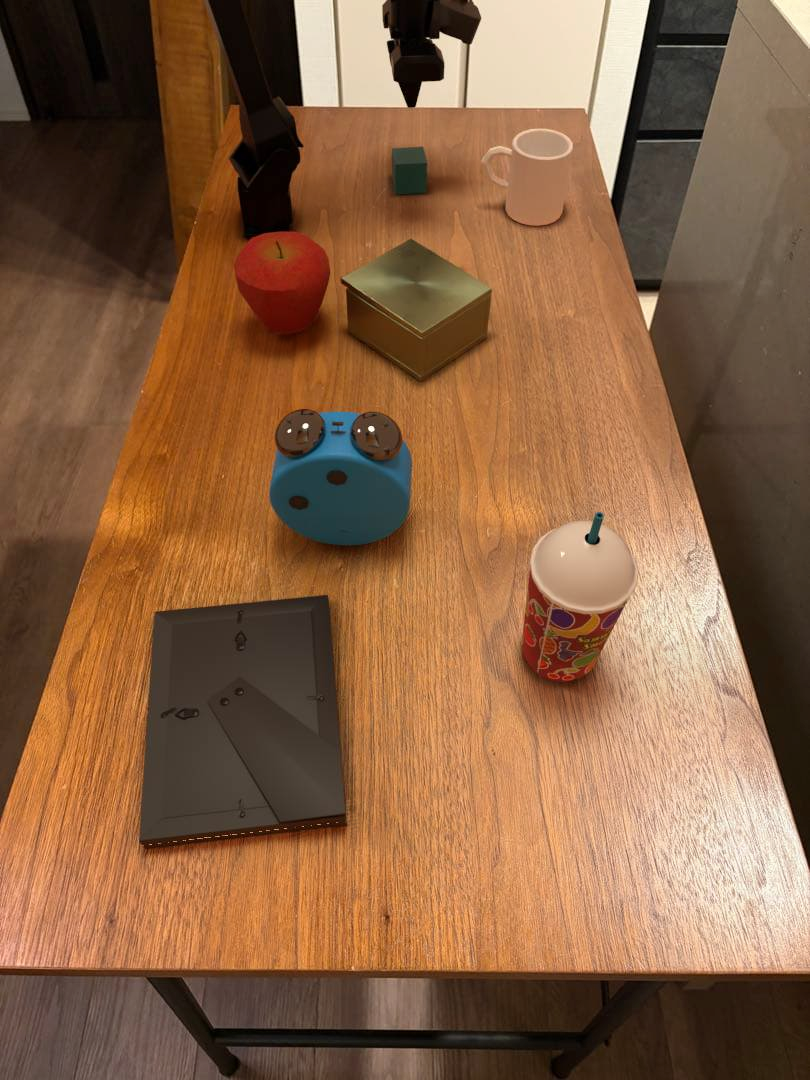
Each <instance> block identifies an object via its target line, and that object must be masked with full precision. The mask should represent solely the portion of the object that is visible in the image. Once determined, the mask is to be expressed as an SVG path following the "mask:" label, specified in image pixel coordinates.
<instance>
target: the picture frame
mask: <svg viewBox="0 0 810 1080" xmlns="http://www.w3.org/2000/svg"><path fill="white" fill-rule="evenodd" d="M333 646H334V645H333V633H332V621H331V610H330V599H329V595H328V594H323V595H312V596H303V597H292V598H291V597H290V598H281V599H271V600H259V601H250V602H249V601H248V602H239V603H229V604H220V605H208V606H198V607H187V608H178V609H177V608H176V609H168V610H167V609H166V610H158V611H154V615H153V631H152V646H151V660H150V674H149V689H148V701H147V702H148V703H147V718H146V732H145V746H144V747H145V748H144V761H143V776H142V790H141V791H142V792H141V805H140V822H139V834H138V835H139V836H138V842H139V843H140V844H141V846H142V845H144V846H142V847H143V849H144V850H152V849H160V848H169V847H170V848H171V847H178V846H187V845H196V844H203V843H211V842H219V841H228V840H236V839H246V838H254V837H263V836H272V835H277V834H278V835H280V834H288V833H297V832H305V831H313V830H314V831H315V830H322V829H329V828H330V829H331V828H338V827H339V828H340V827H347V826H348V819H347V807H346V794H345V781H344V780H345V779H344V770H343V758H342V746H341V745H342V744H341V732H340V721H339V708H338V707H339V706H338V696H337V683H336V682H337V681H336V669H335V658H334V649H333V648H334V647H333ZM345 821H346V822H345ZM336 822H338V823H336ZM327 823H329V824H327ZM317 824H321V825H317ZM311 825H312V826H311ZM302 826H304V827H302ZM295 827H296V828H295ZM284 828H287V829H284ZM274 829H279V830H274ZM266 830H270V831H266ZM259 831H262V832H259ZM250 832H253V833H250ZM241 833H245V834H241ZM230 834H231V835H230ZM232 834H237V835H232ZM222 835H228V836H222ZM215 836H220V837H215ZM204 837H211V838H204ZM197 838H203V839H197ZM189 839H194V840H189ZM183 840H186V841H183ZM173 841H177V842H173ZM168 842H169V843H168ZM158 843H161V844H158ZM149 844H152V845H149Z"/></svg>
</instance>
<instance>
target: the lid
mask: <svg viewBox="0 0 810 1080" xmlns="http://www.w3.org/2000/svg"><path fill="white" fill-rule="evenodd" d="M340 283H341V285H343V286H344V287H346V289H347V288H349V289H350V290H352V291H353V292H355V293H356V294H358V295H359V296H361V297H362V298H364V299H365V300H366V301H368V302H369V303H371V304H372V305H374V306H375V307H377V308H378V309H380V310H381V311H383V312H384V313H386V314H387V315H389V316H390V317H392V318H393V319H395V320H396V321H397V322H399V323H400V324H402V325H403V326H405V327H406V328H408V329H409V330H411V331H412V332H414V333H415V334H417V335H418V336H420V337H421V338H423V337H425V336H426V335H428V334H429V333H431V332H432V331H434V330H435V329H437V328H439V327H440V326H442V325H443V324H445V323H446V322H448V321H449V320H451V319H453V318H454V317H456V316H457V315H459V314H460V313H462V312H464V311H465V310H467V309H468V308H470V307H471V306H473V305H474V304H476V303H478V302H479V301H481V300H482V299H484V298H485V297H487V296H488V295H490V294H491V295H492V292H493V288H492V287H491V286H490V285H488V284H486V283H484V282H483V281H481V280H480V279H478V278H476V277H475V276H473V275H471V273H468V272H467V271H465V270H463V269H462V268H460V267H458V266H457V265H455V264H454V263H452V262H450V261H449V260H447V259H445V258H444V257H443V256H441V255H440V254H437V253H436V252H434V251H433V250H431V249H429V248H428V247H426V246H424V245H423V244H421V243H420V242H418V241H416V240H415V239H413V238H409V239H407V240H406V241H404V242H402V243H400V244H398V245H397V246H395V247H393V248H391V249H390V250H388V251H386V252H385V253H382V254H381V255H379V256H377V257H375V258H374V259H372V260H370V261H368V262H366V263H364V264H363V265H361V266H359V267H358V268H356V269H354V270H352V271H350V272H349V273H347V274H345V275H344V276H342V277H341V278H340Z"/></svg>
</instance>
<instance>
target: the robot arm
mask: <svg viewBox="0 0 810 1080" xmlns="http://www.w3.org/2000/svg"><path fill="white" fill-rule="evenodd" d="M203 3H204V6H205V9H206V11H207V14H208V17H209V19H210V23H211V26H212V28H213V31H214V35H215V37H216V40H217V43H218V46H219V48H220V52H221V54H222V57H223V60H224V63H225V65H226V69H227V72H228V73H229V76H230V80H231V82H232V85H233V88H234V91H235V93H236V97H237V100H238V108H239V109H238V112H239V113H238V115H239V116H238V117H239V118H238V120H239V127H240V131H241V137H242V138H241V140H240V141H239V142H238V144H237V145H236V147H235V148H234V150H233V151H232V153H231V154H230V155H229V156H228V157H229V158H228V160H229V162H230V164H231V166H232V167H233V169H234V170H235V172H236V173H237V174H238V177H237V194H238V201H239V208H240V214H241V220H242V237H244V238H246V239H247V238H253V237H256V236H259V235H261V234H264V233H272V232H292V231H291V225H293V224H294V213H293V204H292V195H291V194H292V193H291V186H290V185H291V181H292V177H293V173H294V172H295V171H296V169H297V168H298V166H299V164H300V163H301V159H302V158H301V151H300V148H301V149H303V148H304V144H303V142H302V141H301V139H300V138H299V136H298V132H297V131H298V130H297V124H296V120H295V117H294V115H293V113H292V112H291V111H290V110H289V108H288V107H287V106H286V104H285V102H284V101H283V100H282V98H281V97H280V96H277V97H275V98H274V99H273V97H272V93H271V91H270V88H269V84H268V81H267V79H266V74H265V72H264V68H263V66H262V63H261V59H260V56H259V52H258V50H257V47H256V44H255V41H254V37H253V34H252V31H251V28H250V25H249V22H248V21H249V20H248V18H247V15H246V12H245V9H244V5H243V3H242V0H203ZM381 8H382V9H381V10H382V12H381V13H382V25H383V29H388V31H389V36H390V39H389V40H387V41H386V46H387V47H386V48H387V52H388V59H389V63H390V66H391V75H392V80H393V82H395V83H397V84H398V87H399V89H400V92H401V94H402V97H403V99H404V102H405V105H406V107H407V108H408V109H412V108H416V106H417V103H418V99H419V96H420V93H421V88H422V83H428V82H429V83H430V82H441V81H443V80H444V79H445V65H446V64H445V59H444V55H443V52H442V50H441V49H440V48H439V47H438V45H436V43H435V42H434V41H433V40H440V33H441V34H443V35H445V36H448V37H450V38H454V39H457V40H459V41H461V42H462V44H466V45H468V46H469V45H472V44H473V41H474V39H475V36H476V33H477V31H478V29H479V26H480V23H481V21H482V15H481V13H480V10H479V7H478V6H477V5H475V3H474V1H472V0H470V1H469V0H385V1H384V2H383V4H382V6H381Z"/></svg>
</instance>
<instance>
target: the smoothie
mask: <svg viewBox="0 0 810 1080" xmlns="http://www.w3.org/2000/svg"><path fill="white" fill-rule="evenodd" d="M604 517H605V514H604V513H603V512H602V511H597V512H595V513H594V516H593V520H590V519H579V520H577V519H576V520H573V521H569V522H567V523H566V522H565V523H563V524H561V525H559V526H558V527H556V528H553V529H551V530H549V531H548V532H546V533H545V534H544V535H542V536H541V537H540V538H539V539H538V540H537V542H536V543H535V545H534V546H533V547H532V550H531V554H530V558H529V573H528V574H529V575H528V583H527V590H526V591H527V592H526V599H525V600H526V601H525V611H524V619H523V626H522V627H523V628H522V636H521V644H520V645H521V649H522V655H523V657H524V659H525V660H526V662H527V664H528V665H529V666H530V667H531V668H532V670H533V671H534V672H535V673H536V674H538V675H539V676H540V677H542V678H544V679H546V680H547V681H551V682H557V683H565V682H566V683H567V682H570V681H575V680H577V679H580V678H583V677H585V676H586V675H587V674H588V673H590V672H591V671H592V670H593V668H594V666H595V664H596V663H597V660H598V659H599V657H600V655H601V653H602V652H603V649H604V647H605V645H606V643H607V641H608V639H609V638H610V636H611V633H612V632H613V630H614V628H615V627H616V624H617V622H618V621H619V619H620V616H621V614H622V613H623V611H624V610H625V609H624V608H625V607H626V605H627V603H628V601H629V600H630V598H631V597H632V595H633V593H634V591H635V589H636V588H637V586H638V581H639V573H640V570H639V567H638V564H637V560H636V557H635V555H634V554H633V553H632V551H631V549H630V547H629V546H628V544H627V542H626V541H625V539H624V538H623V537H622V535H620V534H619V532H617V531H615V529H614V528H612V527H610V526H608V525H606V524H604V523H603V521H604Z"/></svg>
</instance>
